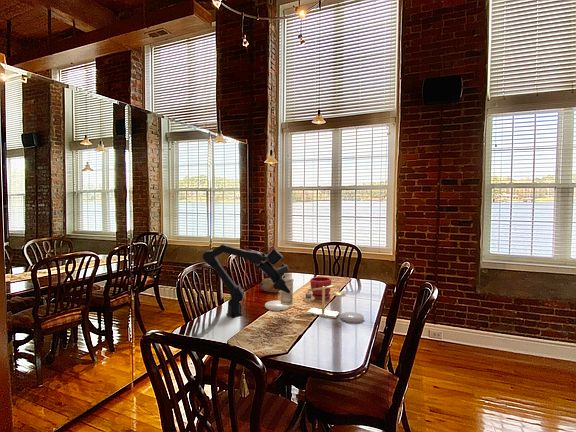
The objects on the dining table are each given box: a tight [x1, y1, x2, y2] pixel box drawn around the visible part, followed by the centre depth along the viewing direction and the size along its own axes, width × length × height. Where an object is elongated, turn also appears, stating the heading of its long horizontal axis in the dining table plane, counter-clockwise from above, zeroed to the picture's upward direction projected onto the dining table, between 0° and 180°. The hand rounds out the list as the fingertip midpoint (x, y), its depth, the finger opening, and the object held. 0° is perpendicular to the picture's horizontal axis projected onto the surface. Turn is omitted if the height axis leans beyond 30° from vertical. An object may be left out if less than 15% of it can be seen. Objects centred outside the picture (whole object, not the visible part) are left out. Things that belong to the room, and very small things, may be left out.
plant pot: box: [310, 276, 332, 300], centre depth 222 cm, size 13×13×12 cm
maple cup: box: [280, 277, 294, 306], centre depth 188 cm, size 7×7×13 cm
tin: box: [260, 277, 281, 293], centre depth 234 cm, size 15×3×8 cm, turn 62°
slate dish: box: [340, 311, 364, 324], centre depth 185 cm, size 12×12×2 cm
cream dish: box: [264, 300, 290, 312], centre depth 202 cm, size 14×14×2 cm
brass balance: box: [301, 284, 347, 319], centre depth 191 cm, size 24×7×17 cm, turn 66°
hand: (289, 290), depth 188 cm, fingers closed on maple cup, 6 cm apart
